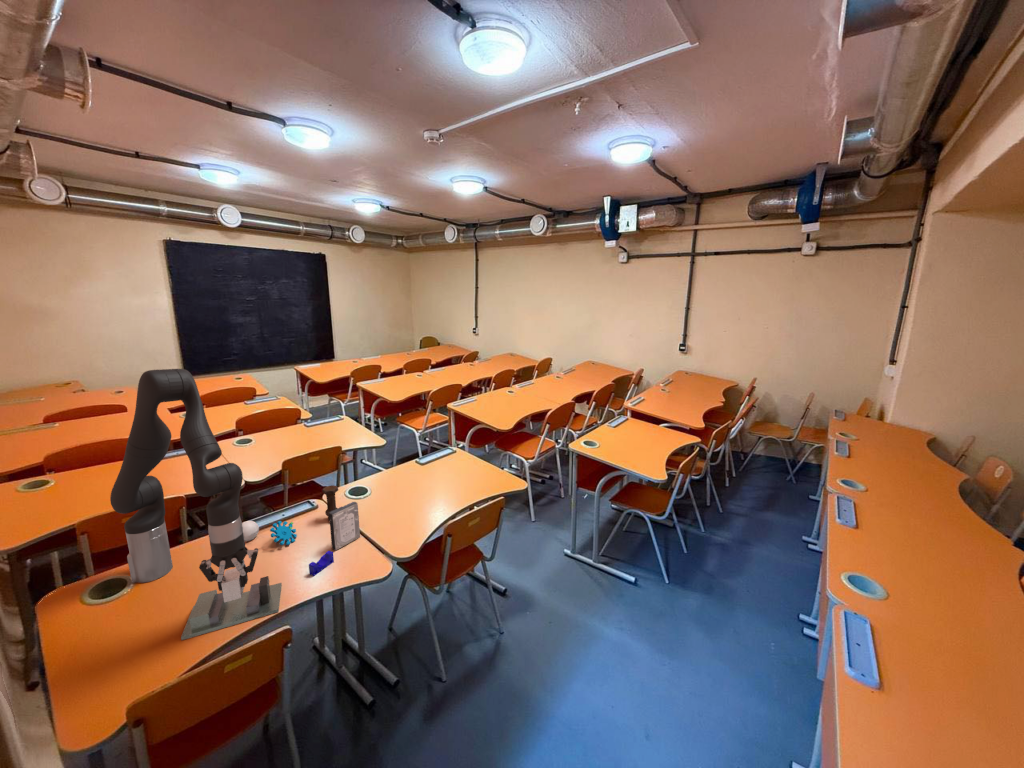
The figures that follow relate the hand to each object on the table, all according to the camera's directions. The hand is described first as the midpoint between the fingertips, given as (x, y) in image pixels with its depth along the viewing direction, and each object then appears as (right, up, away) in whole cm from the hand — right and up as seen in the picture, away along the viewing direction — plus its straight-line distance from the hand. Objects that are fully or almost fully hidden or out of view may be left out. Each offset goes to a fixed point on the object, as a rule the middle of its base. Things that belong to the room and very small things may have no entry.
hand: (234, 587), depth 109 cm
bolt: (+6, +2, +47) cm, 48 cm away
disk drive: (+18, -2, +34) cm, 38 cm away
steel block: (0, -2, 0) cm, 2 cm away
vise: (0, -7, +1) cm, 8 cm away
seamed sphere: (-19, -1, +34) cm, 39 cm away
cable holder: (+15, -4, +20) cm, 25 cm away
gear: (-3, -2, +34) cm, 34 cm away
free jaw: (+5, -6, +4) cm, 9 cm away
